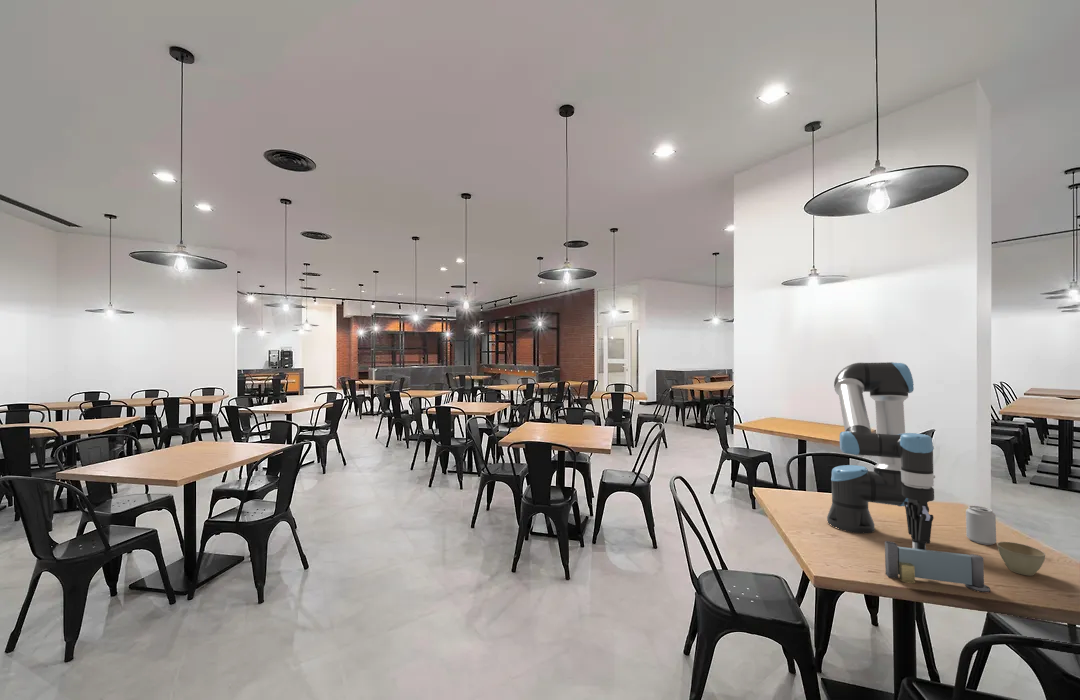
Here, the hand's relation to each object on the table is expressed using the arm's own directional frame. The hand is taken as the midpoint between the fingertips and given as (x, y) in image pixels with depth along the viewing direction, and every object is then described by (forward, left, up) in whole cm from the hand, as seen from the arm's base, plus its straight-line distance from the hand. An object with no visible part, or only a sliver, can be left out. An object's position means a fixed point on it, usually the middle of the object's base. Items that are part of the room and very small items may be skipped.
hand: (919, 562), depth 131 cm
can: (+16, +46, -4) cm, 49 cm away
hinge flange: (+12, +1, -4) cm, 13 cm away
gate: (+4, -2, -3) cm, 6 cm away
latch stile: (-4, -7, -4) cm, 9 cm away
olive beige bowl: (+23, +23, -4) cm, 33 cm away
